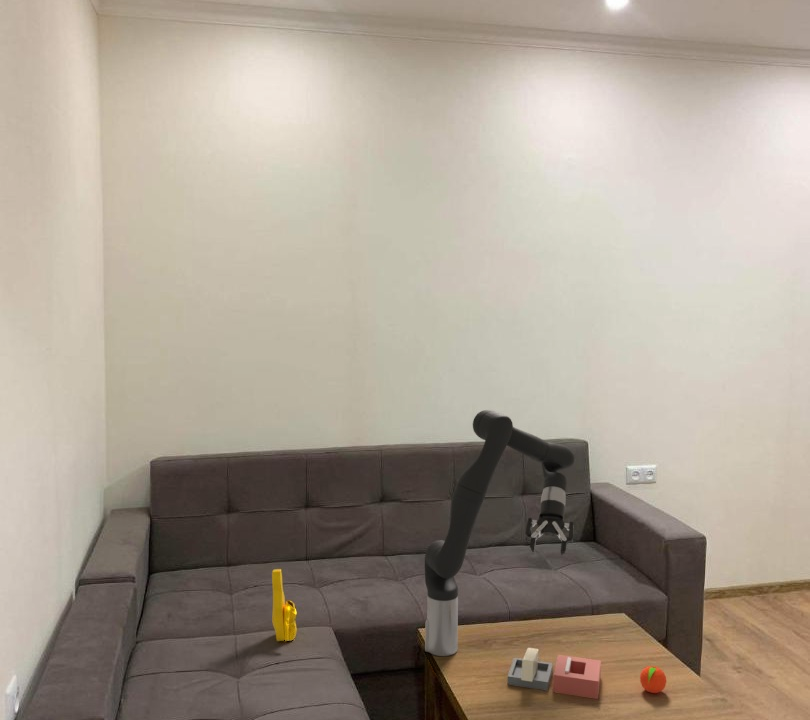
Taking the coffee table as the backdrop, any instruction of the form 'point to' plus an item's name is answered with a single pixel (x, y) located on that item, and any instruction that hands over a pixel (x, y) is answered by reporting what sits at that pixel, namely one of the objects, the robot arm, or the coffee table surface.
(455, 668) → the coffee table surface
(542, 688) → the tray
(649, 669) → the clementine
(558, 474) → the robot arm
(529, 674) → the tall beige block
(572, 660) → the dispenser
